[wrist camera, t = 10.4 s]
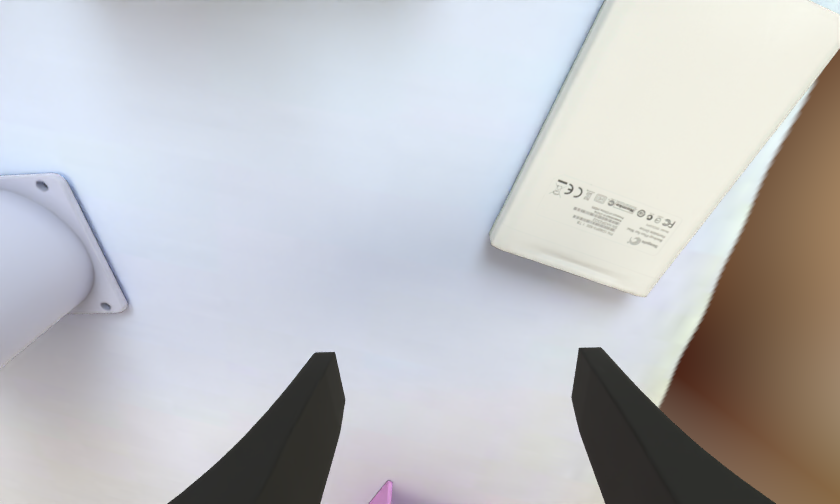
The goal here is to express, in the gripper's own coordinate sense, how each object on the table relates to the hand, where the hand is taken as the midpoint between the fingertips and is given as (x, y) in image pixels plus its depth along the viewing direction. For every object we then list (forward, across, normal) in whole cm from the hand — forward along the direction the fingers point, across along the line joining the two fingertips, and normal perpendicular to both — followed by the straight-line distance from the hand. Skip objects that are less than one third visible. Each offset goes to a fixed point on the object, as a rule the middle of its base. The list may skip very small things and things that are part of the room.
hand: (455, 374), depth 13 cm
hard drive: (+10, -8, -4) cm, 13 cm away
